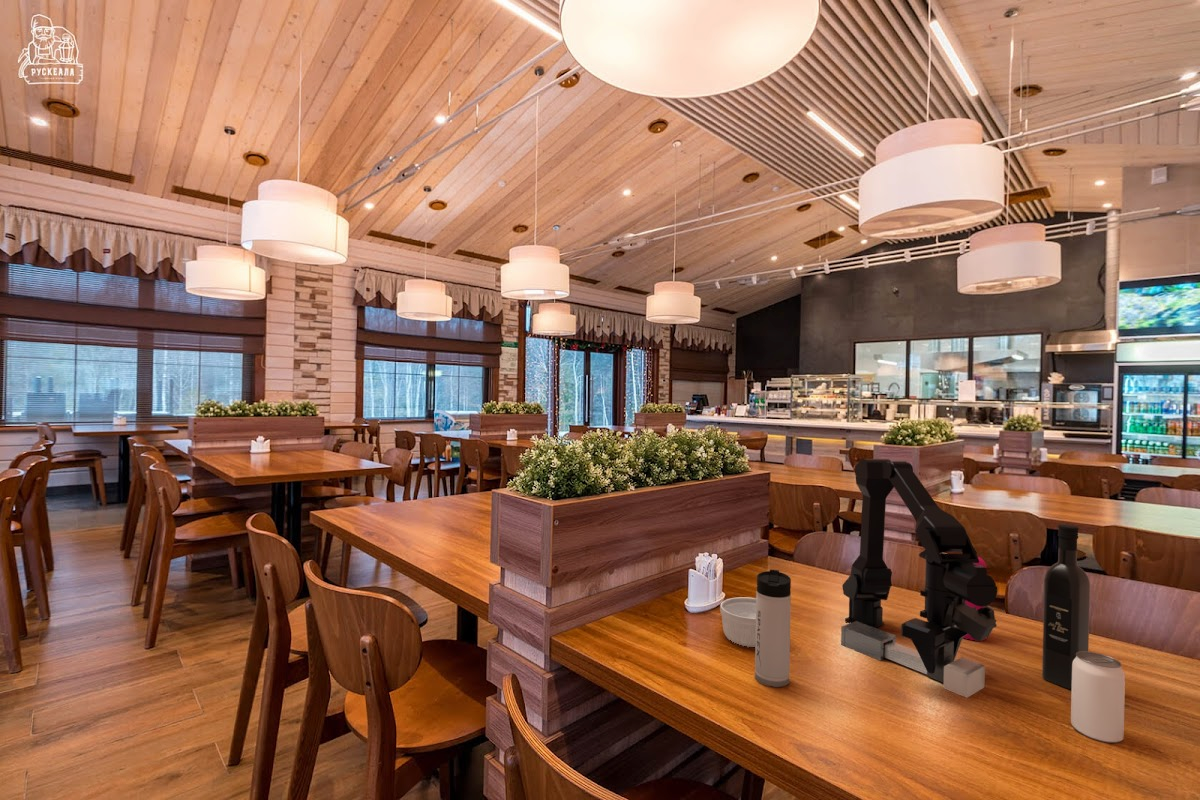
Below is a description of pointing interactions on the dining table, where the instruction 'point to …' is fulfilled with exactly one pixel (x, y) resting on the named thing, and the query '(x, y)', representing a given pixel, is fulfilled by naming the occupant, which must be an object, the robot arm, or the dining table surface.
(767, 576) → the travel mug
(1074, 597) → the wine bottle
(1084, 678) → the can
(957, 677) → the grey rectangular block
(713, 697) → the dining table surface
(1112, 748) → the dining table surface
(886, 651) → the grey l-shaped block
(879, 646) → the sleeve
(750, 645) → the ramekin
